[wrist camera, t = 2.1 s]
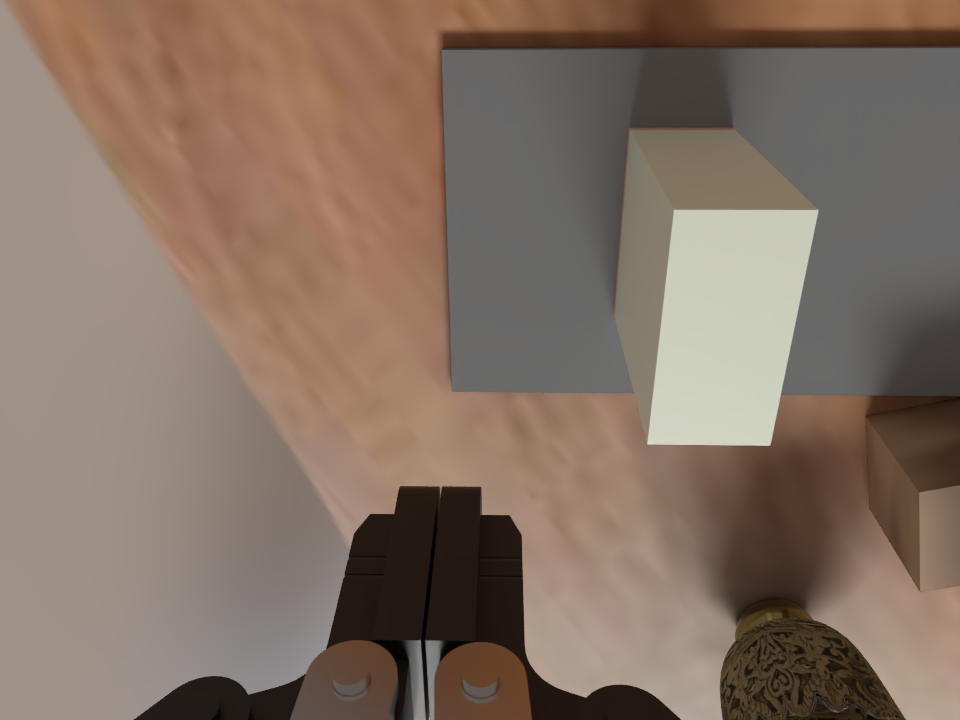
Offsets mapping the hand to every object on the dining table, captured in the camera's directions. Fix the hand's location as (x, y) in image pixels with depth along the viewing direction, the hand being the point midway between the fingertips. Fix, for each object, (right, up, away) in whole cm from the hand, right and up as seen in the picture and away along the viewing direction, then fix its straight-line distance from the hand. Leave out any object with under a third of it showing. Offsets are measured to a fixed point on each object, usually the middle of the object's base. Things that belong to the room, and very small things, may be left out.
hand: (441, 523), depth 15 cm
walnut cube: (+20, -1, +19) cm, 27 cm away
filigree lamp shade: (+15, -9, +24) cm, 30 cm away
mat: (+11, +8, +14) cm, 19 cm away
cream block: (+8, +8, +14) cm, 18 cm away
